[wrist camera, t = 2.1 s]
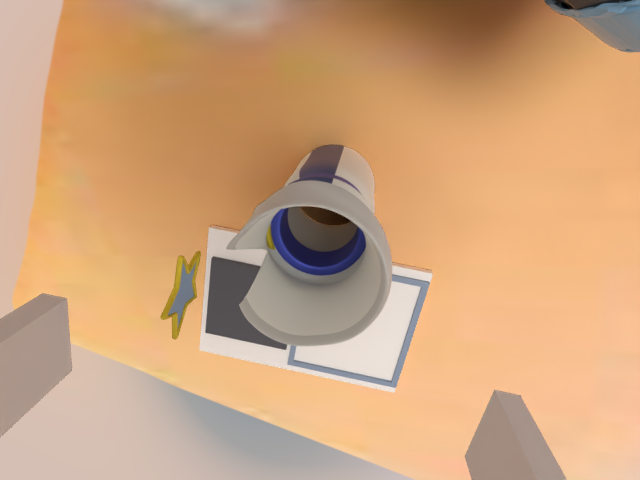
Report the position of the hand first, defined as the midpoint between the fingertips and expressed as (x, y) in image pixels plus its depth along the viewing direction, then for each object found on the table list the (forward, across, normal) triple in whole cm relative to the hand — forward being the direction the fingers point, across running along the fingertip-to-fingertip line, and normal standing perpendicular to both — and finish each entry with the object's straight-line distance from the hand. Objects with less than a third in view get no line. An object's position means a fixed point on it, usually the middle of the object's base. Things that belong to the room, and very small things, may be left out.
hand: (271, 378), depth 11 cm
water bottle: (+26, 0, 0) cm, 26 cm away
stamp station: (+26, 0, -13) cm, 29 cm away
